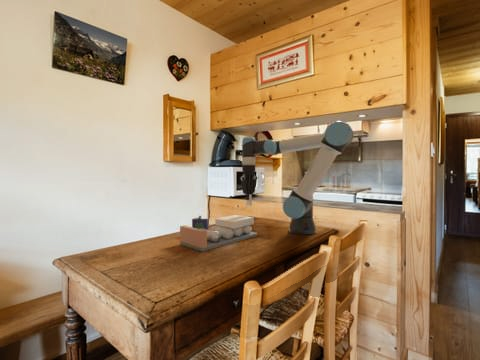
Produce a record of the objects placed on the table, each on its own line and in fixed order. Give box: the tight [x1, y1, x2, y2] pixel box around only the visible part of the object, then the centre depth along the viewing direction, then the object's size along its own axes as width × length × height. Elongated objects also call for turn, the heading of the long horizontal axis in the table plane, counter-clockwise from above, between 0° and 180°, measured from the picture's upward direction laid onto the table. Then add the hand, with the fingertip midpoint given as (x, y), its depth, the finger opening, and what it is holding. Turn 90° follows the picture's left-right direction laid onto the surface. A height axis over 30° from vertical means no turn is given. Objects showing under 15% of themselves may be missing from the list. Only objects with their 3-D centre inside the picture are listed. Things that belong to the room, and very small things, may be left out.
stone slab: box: [214, 214, 255, 229], centre depth 147 cm, size 14×16×4 cm
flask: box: [191, 215, 209, 230], centre depth 153 cm, size 9×3×11 cm, turn 88°
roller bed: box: [179, 224, 259, 252], centre depth 140 cm, size 18×38×9 cm, turn 135°
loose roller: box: [200, 228, 221, 243], centre depth 134 cm, size 13×5×5 cm, turn 45°
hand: (249, 205), depth 156 cm, fingers closed
